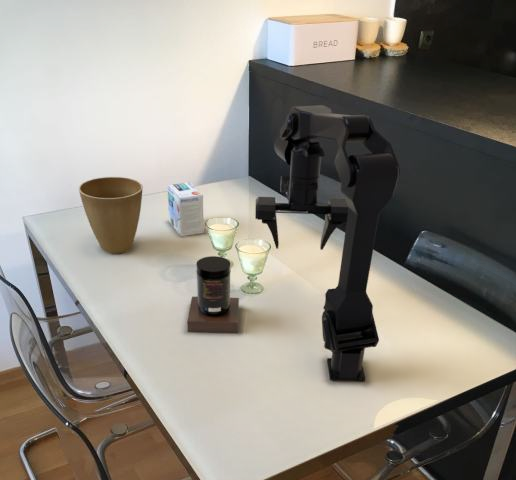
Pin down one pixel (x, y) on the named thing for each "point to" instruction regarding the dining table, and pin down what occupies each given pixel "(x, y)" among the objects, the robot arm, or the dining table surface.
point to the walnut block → (213, 319)
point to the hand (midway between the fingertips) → (299, 248)
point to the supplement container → (213, 285)
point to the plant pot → (112, 211)
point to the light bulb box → (185, 209)
